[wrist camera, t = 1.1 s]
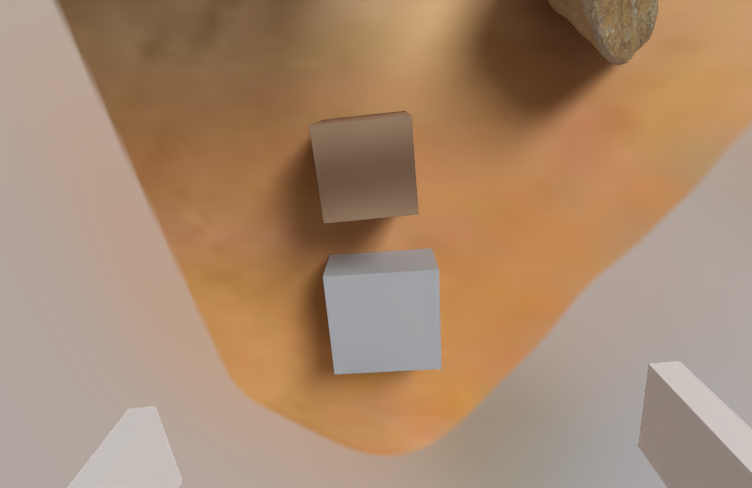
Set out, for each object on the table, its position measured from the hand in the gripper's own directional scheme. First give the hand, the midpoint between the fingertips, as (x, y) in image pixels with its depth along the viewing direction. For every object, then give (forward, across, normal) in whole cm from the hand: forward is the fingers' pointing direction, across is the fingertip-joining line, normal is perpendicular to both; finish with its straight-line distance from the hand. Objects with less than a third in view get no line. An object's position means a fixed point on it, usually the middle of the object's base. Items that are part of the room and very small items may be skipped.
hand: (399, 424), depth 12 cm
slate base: (+18, -1, -6) cm, 19 cm away
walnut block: (+18, -1, +4) cm, 19 cm away
